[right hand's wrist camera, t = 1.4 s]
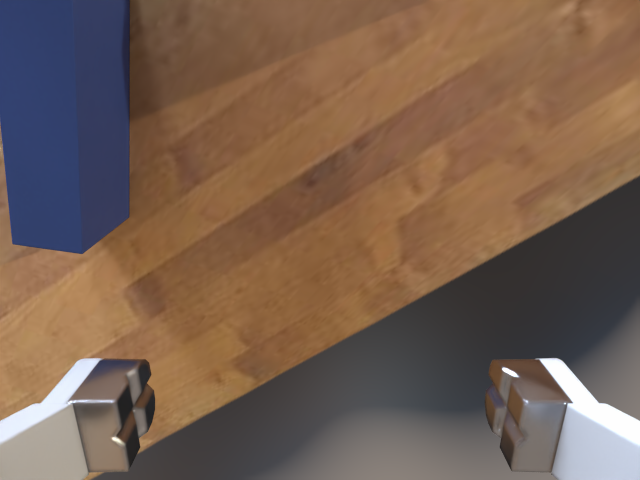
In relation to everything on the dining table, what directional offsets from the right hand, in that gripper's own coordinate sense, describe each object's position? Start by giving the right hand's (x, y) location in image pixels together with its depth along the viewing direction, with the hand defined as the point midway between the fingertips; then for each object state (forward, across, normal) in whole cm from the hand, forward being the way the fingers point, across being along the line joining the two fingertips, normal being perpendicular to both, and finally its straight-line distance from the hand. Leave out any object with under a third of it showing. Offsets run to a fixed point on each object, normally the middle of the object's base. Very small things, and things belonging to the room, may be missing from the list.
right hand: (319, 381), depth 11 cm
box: (+39, +23, -5) cm, 45 cm away
